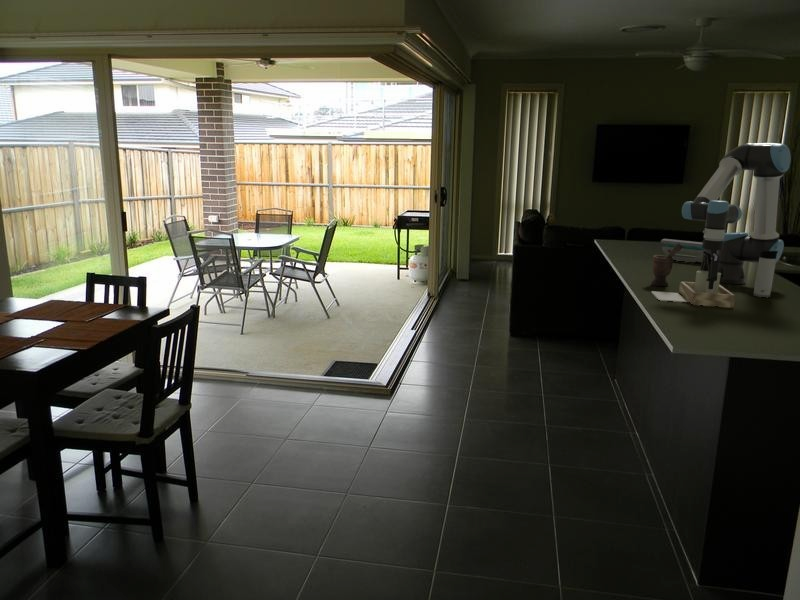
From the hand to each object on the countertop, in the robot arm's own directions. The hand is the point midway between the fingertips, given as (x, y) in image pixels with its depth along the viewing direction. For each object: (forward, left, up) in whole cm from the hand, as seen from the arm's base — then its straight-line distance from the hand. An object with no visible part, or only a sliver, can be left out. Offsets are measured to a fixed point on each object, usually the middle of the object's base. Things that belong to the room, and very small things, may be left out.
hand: (705, 294), depth 266 cm
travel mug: (-27, -16, -3) cm, 31 cm away
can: (0, 0, -3) cm, 3 cm away
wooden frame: (0, 0, -2) cm, 2 cm away
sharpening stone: (-15, -104, -3) cm, 105 cm away
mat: (+14, 0, -2) cm, 14 cm away
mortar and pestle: (+11, -26, -3) cm, 28 cm away
